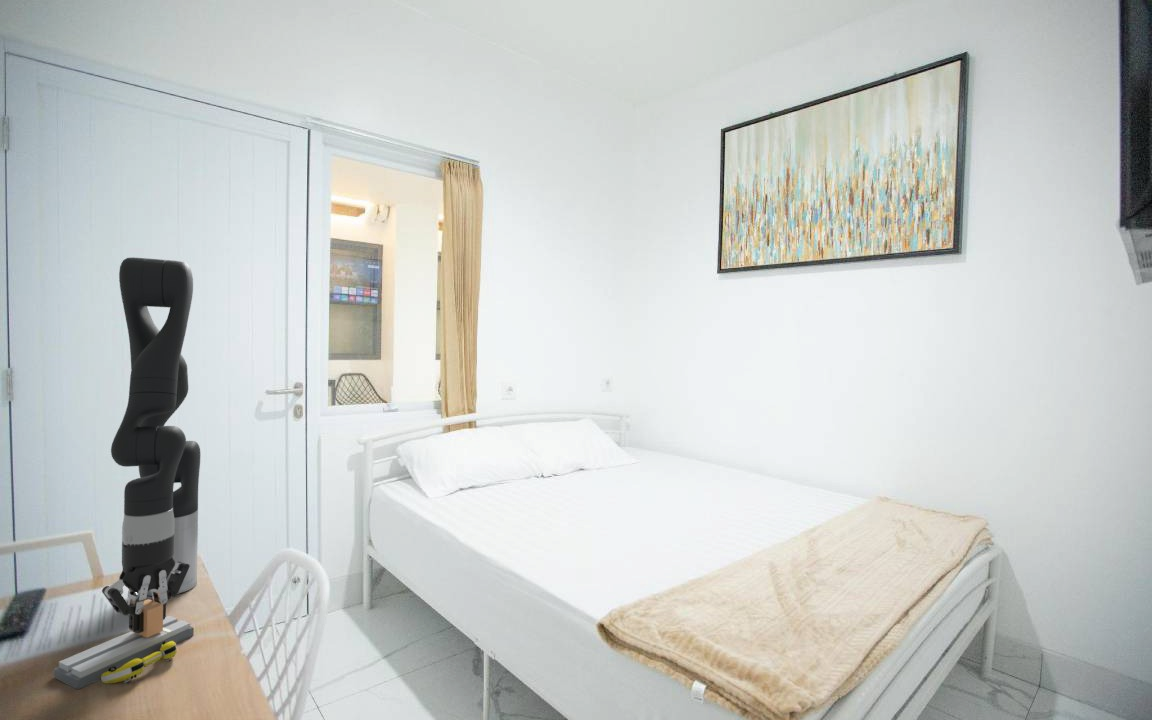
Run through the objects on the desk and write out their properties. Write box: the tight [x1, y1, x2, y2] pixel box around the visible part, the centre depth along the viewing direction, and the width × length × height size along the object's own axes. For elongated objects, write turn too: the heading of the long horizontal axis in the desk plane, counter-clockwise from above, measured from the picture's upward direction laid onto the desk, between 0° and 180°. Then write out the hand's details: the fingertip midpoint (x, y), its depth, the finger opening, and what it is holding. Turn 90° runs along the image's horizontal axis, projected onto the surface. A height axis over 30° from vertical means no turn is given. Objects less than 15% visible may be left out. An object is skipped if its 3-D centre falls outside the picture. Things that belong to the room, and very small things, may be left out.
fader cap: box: [131, 598, 163, 638], centre depth 100 cm, size 3×4×6 cm, turn 67°
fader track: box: [53, 615, 194, 690], centre depth 97 cm, size 18×7×3 cm, turn 157°
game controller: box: [100, 641, 178, 684], centre depth 93 cm, size 10×6×4 cm, turn 161°
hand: (147, 627), depth 100 cm, fingers closed on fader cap, 2 cm apart
